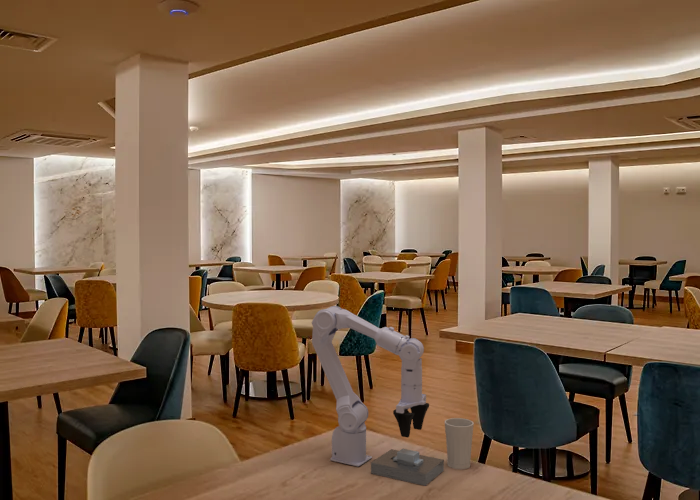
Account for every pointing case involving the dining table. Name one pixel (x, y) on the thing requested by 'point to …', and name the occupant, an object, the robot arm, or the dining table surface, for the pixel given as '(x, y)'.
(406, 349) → the robot arm
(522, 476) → the dining table surface
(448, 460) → the cup
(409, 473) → the chassis
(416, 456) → the block
